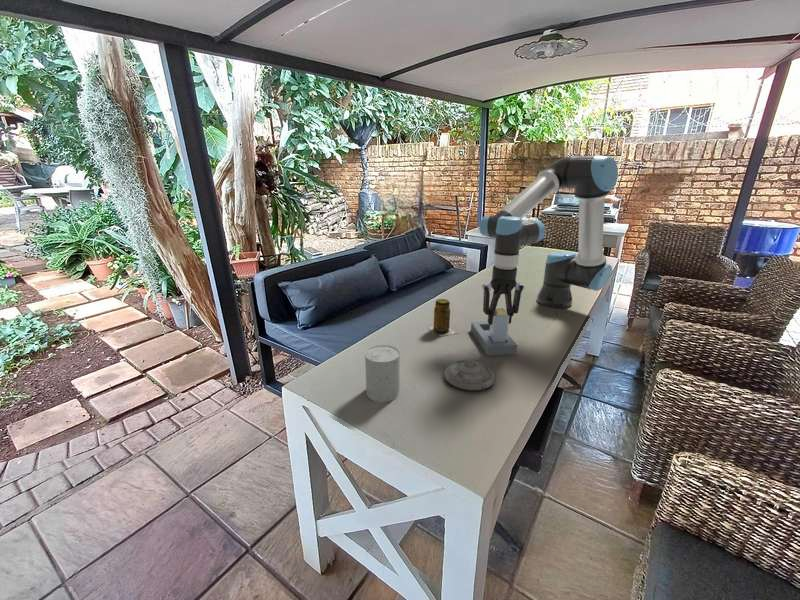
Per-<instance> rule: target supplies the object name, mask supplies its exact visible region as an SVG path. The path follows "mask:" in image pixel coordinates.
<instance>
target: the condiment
mask: <svg viewBox="0 0 800 600" xmlns="http://www.w3.org/2000/svg"><path fill="white" fill-rule="evenodd" d="M434 305H435V306H434V310H433V311H434V312H433V326H431V327H428V329H429V330H430V331H431V332H433V333H435V334H436V335H437V336H439V337H443V336H444V337H445V336H448V335H453V334H457V333H456V331H454V330H453V329H451V328H450V324H451V323H450V321H451V307H450V300H449V299H446V298H445V299H444V298H439V299H436V300H435V304H434Z"/></svg>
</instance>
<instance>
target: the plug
mask: <svg viewBox="0 0 800 600" xmlns="http://www.w3.org/2000/svg"><path fill="white" fill-rule="evenodd" d="M494 315H495V316H496V319H495V330H494V334H491V333H490V340H491V341H492V343H503V342H505V341H506V331H507V322H508V314H507V310H506V308H503V307H502V308H496V309H495V313H494Z"/></svg>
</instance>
